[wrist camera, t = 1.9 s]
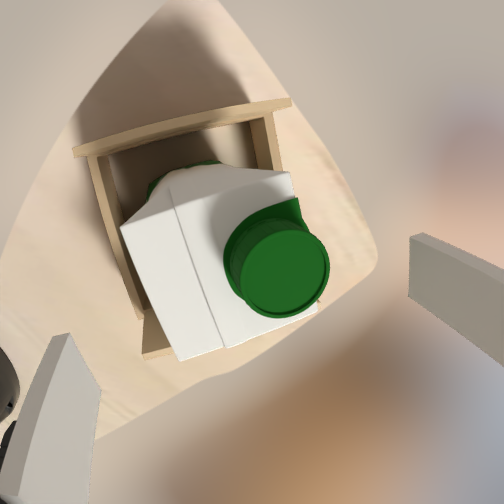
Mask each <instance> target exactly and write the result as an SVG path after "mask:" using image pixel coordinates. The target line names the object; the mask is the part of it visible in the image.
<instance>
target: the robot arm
mask: <svg viewBox="0 0 504 504" xmlns="http://www.w3.org/2000/svg"><path fill="white" fill-rule="evenodd" d="M409 261H410V262H409V292H408V297H410V298H411V299H412V300H414V301H415V302H417V303H418V304H420V305H421V306H422V307H424V308H425V309H427V310H428V311H429V312H431V313H432V314H434V315H435V316H436V317H438V318H439V319H441V320H442V321H443V322H445V323H446V324H447V325H449V326H450V327H451V328H453V329H454V330H456V331H457V332H458V333H460V334H461V335H462V336H464V337H465V338H466V339H468V340H469V341H470V342H472V343H473V344H475V345H476V346H477V347H478V348H480V349H481V350H482V351H484V352H485V353H486V354H488V355H489V356H490V357H491V358H493V359H494V360H495V361H497V362H498V363H499V364H501V365H502V366H503V367H504V270H503V269H501V268H499V267H497V266H495V265H493V264H491V263H489V262H487V261H485V260H483V259H481V258H478V257H477V256H474V255H472V254H470V253H468V252H466V251H464V250H461V249H459V248H457V247H455V246H453V245H450V244H448V243H446V242H444V241H441V240H439V239H437V238H434V237H432V236H430V235H428V234H425V233H420V234H417V235H414V236H411V237H410V260H409ZM101 391H102V390H101V388H100V387H99V385H98V383H97V382H96V380H95V378H94V377H93V375H92V373H91V371H90V370H89V368H88V366H87V364H86V363H85V361H84V359H83V357H82V355H81V353H80V351H79V350H78V348H77V346H76V344H75V342H74V340H73V338H72V336H71V334H70V333H66V334H62V335H58V336H53V337H52V339H51V341H50V343H49V345H48V347H47V350H46V352H45V354H44V356H43V358H42V360H41V363H40V365H39V367H38V369H37V372H36V374H35V376H34V379H33V381H32V383H31V386H30V388H29V391H28V393H27V396H26V398H25V401H24V403H23V406H22V408H21V411H20V414H19V416H18V419H17V421H13V422H12V424H11V425H10V426H9V428H8V429H7V430H6V432H5V433H4V436H3V439H2V442H1V445H0V446H1V448H0V504H88V503H89V487H90V475H91V463H92V454H93V446H94V438H95V430H96V423H97V416H98V409H99V403H100V397H101ZM19 394H20V385H19V380H18V377H17V374H16V372H15V370H14V368H13V366H12V364H11V362H10V361H9V359H8V358H7V356H6V355H5V354H4V352H3V351H2V350H1V349H0V423H1V422H2V421H3V420H4V419H5V418H6V417H8V416H9V415H10V414H11V412H12V411H13V410H14V408H15V405H16V403H17V400H18V398H19Z"/></svg>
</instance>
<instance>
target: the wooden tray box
mask: <svg viewBox="0 0 504 504" xmlns="http://www.w3.org/2000/svg"><path fill="white" fill-rule="evenodd" d="M288 107H292V102H291V98H283V99H275V100H268V101H261V102H254V103H248V104H241V105H235V106H230V107H224V108H219V109H214V110H209V111H204V112H199V113H194V114H190V115H185V116H181V117H177V118H172V119H168V120H164V121H160V122H156V123H152V124H149V125H145V126H141V127H138V128H134V129H130V130H127V131H124V132H120V133H117V134H114V135H110V136H107V137H104V138H101V139H98V140H95V141H92V142H89V143H86V144H83V145H80V146H77V147H74V148H72V150H73V155H74V158H75V157H82V156H87V160H88V164H89V168H90V172H91V176H92V180H93V184H94V188H95V192H96V195H97V199H98V203H99V206H100V210H101V213H102V217H103V220H104V223H105V227H106V230H107V233H108V236H109V240H110V243H111V246H112V249H113V252H114V255H115V258H116V261H117V264H118V267H119V270H120V272H121V275H122V278H123V281H124V284H125V286H126V289H127V292H128V294H129V297H130V300H131V302H132V305H133V307H134V310H135V313H136V315H137V318H138V320H141V319H144V325H143V340H142V356H143V358H144V360H149V359H153V358H157V357H161V356H165V355H169V354H173V353H174V351H173V349H172V347H171V345H170V343H169V341H168V339H167V337H166V335H165V333H164V331H163V328H162V326H161V324H160V322H159V320H158V318H157V316H156V314H155V311H154V309H153V307H152V305H151V303H150V300H149V298H148V296H147V294H146V291H145V289H144V287H143V284H142V282H141V280H140V277H139V275H138V273H137V270H136V268H135V265H134V263H133V261H132V258H131V256H130V253H129V251H128V248H127V246H126V243H125V241H124V238H123V235H122V233H121V230H120V227H121V226H122V225H123V224H124V223H125V221H124V218H123V214H122V211H121V207H120V203H119V200H118V196H117V192H116V189H115V185H114V181H113V177H112V173H111V169H110V165H109V160H108V156H107V155H110V154H113V153H117V152H120V151H123V150H127V149H130V148H134V147H137V146H141V145H144V144H148V143H152V142H155V141H159V140H163V139H167V138H171V137H175V136H179V135H183V134H188V133H192V132H196V131H201V130H205V129H210V128H215V127H220V126H225V125H230V124H235V123H241V122H246V121H249V124H250V129H251V134H252V139H253V144H254V149H255V155H256V160H257V165H258V169H260V170H273V171H283V169H282V163H281V157H280V152H279V146H278V140H277V135H276V130H275V124H274V119H273V114H272V112H274V111H277V110H281V109H284V108H288ZM317 305H318V309H321V304H320V301H319V300H317Z"/></svg>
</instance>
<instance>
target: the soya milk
mask: <svg viewBox="0 0 504 504" xmlns="http://www.w3.org/2000/svg"><path fill="white" fill-rule="evenodd" d="M120 230H121V233H122V235H123V238H124V241H125V243H126V246H127V248H128V251H129V253H130V256H131V258H132V261H133V263H134V265H135V268H136V270H137V273H138V275H139V277H140V280H141V282H142V284H143V287H144V289H145V291H146V294H147V296H148V298H149V300H150V303H151V305H152V307H153V309H154V311H155V314H156V316H157V318H158V320H159V322H160V324H161V326H162V328H163V331H164V333H165V335H166V337H167V339H168V341H169V343H170V345H171V347H172V349H173V351H174V353H175V355H176V357H177V359H178V361H183V360H186V359H189V358H192V357H195V356H198V355H201V354H204V353H207V352H210V351H213V350H216V349H219V348H222V347H224V346H225V348H230V347H233V346H236V345H239V344H241V343H244V342H246V341H247V340H249V339H251V338H254V337H257V336H259V335H262V334H265V333H267V332H270V331H272V330H275V329H277V328H280V327H282V326H285V325H287V324H289V323H292V322H294V321H297V320H299V319H302V318H304V317H306V316H309V315H311V314H313V313H315V312H317V311H318V305H317V300H318V298H319V297H320V296H321V294H322V293H323V291H324V289H325V287H326V285H327V282H328V278H329V273H330V262H329V257H328V253H327V251H326V249H325V247H324V245H323V244H322V243H321V241H320V240H319V239H317V238H316V236H314V235H313V234H311V233H310V232H309V229H308V227H307V225H306V224H305V222H304V220H303V219H302V215H301V210H300V205H299V201H298V197H297V198H295V195H294V190H293V185H292V181H291V176H290V173H289V172H286V171H273V170H260V169H247V168H235V167H232V166H228V165H225V164H222V163H221V162H220V161H212V160H209V161H204V162H200V163H196V164H192V165H188V166H185V167H182V168H178V169H175V170H173V171H170V172H168V173H166V174H164V175H163V176H161V177H160V178H158V179H156V180H155V181H153V182H152V183H150V184H149V187H148V192H147V197H146V202H145V205H144V206H143V207H142V208H141V209H140V210H138V211H137V212H136V213H135V214H134V215H133V216H132V217H131V218H130V219H129V220H127V221H126V222H125V223H124V224H123V225H122V226H121V227H120Z"/></svg>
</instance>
